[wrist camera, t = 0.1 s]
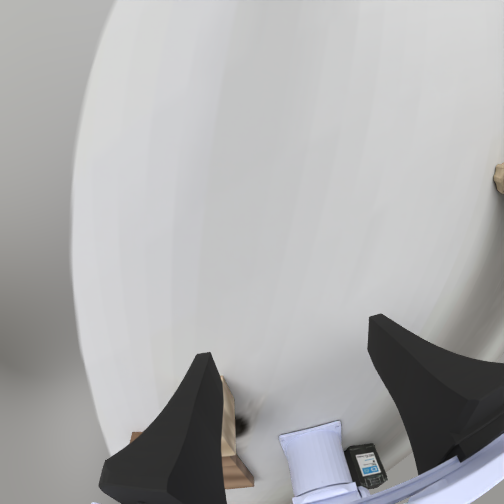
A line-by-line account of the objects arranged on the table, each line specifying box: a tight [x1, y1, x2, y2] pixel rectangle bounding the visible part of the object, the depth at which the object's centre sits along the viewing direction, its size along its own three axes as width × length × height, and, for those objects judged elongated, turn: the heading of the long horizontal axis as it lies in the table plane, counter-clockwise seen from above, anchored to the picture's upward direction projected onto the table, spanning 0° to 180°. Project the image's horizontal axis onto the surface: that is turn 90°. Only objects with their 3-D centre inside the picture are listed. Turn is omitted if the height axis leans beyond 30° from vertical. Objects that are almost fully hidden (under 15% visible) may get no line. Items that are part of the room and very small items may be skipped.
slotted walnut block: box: [130, 432, 254, 489], centre depth 31 cm, size 18×12×2 cm, turn 14°
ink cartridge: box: [344, 444, 388, 489], centre depth 31 cm, size 5×2×8 cm, turn 76°
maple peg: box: [220, 376, 236, 457], centre depth 23 cm, size 4×4×7 cm
